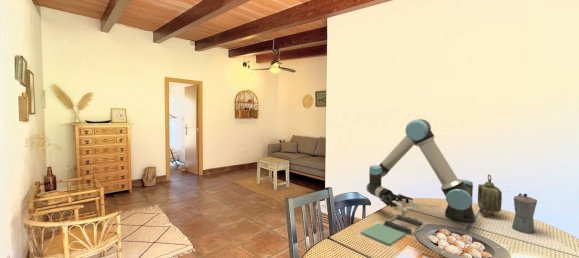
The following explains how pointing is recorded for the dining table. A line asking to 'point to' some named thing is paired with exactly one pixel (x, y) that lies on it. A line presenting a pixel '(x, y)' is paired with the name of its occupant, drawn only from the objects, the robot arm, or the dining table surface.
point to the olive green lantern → (489, 197)
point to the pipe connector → (404, 208)
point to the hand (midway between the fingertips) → (409, 206)
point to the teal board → (383, 234)
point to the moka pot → (524, 213)
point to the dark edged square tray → (402, 228)
